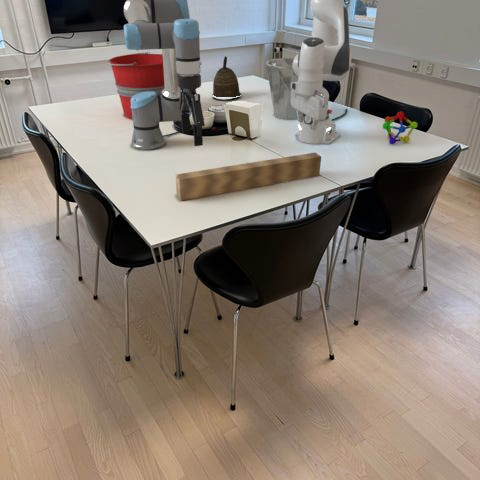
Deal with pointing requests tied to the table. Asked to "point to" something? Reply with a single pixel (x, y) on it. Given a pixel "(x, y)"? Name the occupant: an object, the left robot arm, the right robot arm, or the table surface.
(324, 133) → the right robot arm
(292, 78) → the bucket
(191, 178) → the beam
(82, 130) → the table surface
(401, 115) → the educational toy
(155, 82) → the bucket
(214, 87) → the bell
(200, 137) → the left robot arm
